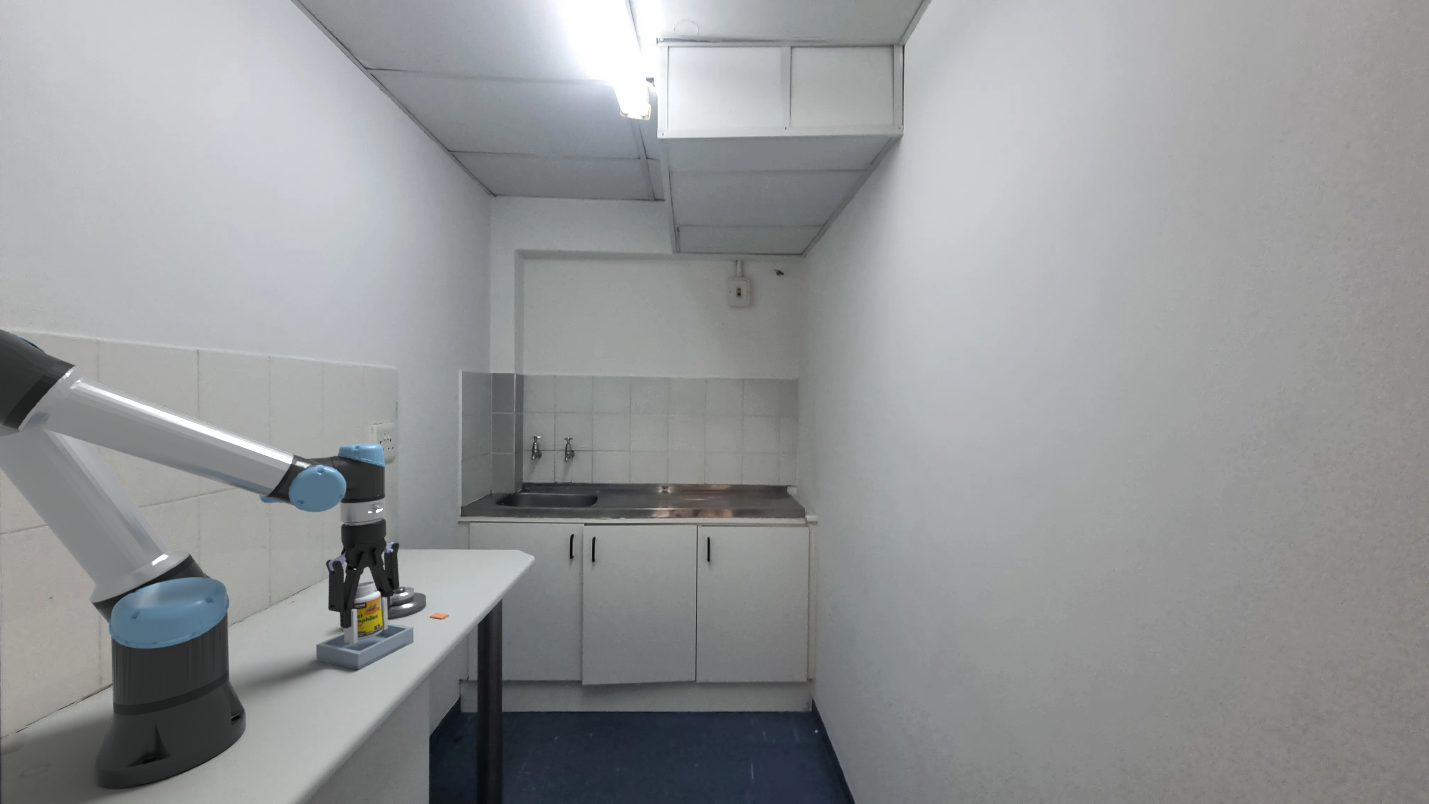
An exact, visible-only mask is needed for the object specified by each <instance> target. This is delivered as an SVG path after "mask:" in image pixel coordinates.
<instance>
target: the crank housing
mask: <svg viewBox="0 0 1429 804" xmlns="http://www.w3.org/2000/svg"><path fill="white" fill-rule="evenodd" d="M426 606H427V596H426V594H424V593H421V592H414V599H413V600H411V601H409V602H407V603H403V604H399V605H390V610H388V611H387V613H388V620H394V619H395V620H396V619H401V618H405V617H408V616H411V615H414V614H417V613H420V612H421V611H422V610H424V609H425V608H426Z"/></svg>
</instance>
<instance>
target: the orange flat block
mask: <svg viewBox="0 0 1429 804" xmlns="http://www.w3.org/2000/svg"><path fill="white" fill-rule="evenodd" d="M449 616H450V615H449V614H447V613H442V612H436V613H434V614H431V615H430V616H429V617H430V618H432V619H438V620H444V619H445V618H447V617H449Z"/></svg>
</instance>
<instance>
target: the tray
mask: <svg viewBox="0 0 1429 804" xmlns="http://www.w3.org/2000/svg"><path fill="white" fill-rule="evenodd" d="M412 643H414V627H412V626H406V625H401V624H398V623H390V622H388V629H385V630H382V631H381V632H380V633H379V634H378V635H376V636H374V637H371V638H368V639H364V640H358V642H357V643H355V644H351V643H347V642H344V632H342V633H340V634H338V635H335V636H332V637H331V638H329V639H326V640H324V641H321V642H319V643H317V644H315V647H316V649H315V651H316V652H315V653H316V656H315V657H316V661H320V662H324V663H328V664H332V665H336V666H340V667H344V668H349V669H353V670H357V671H359V670H362V669H363V668H366V667H367V666H369V665H371V664H374V663H375V662H377V661H379V660H381V659H383V658H384V657H387V656H389V655H391V654H393V653H395V652H397V651H398V650H400V649H403V648H404V647H406V646H408V645H410V644H412Z"/></svg>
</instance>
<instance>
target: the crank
mask: <svg viewBox="0 0 1429 804" xmlns="http://www.w3.org/2000/svg"><path fill="white" fill-rule="evenodd" d="M414 593H415V588H413V587H410V586H399V588H398V589H397V590H394V595H393V596H390V605H399V604H403V603H407V602H409V601H411V600H413V599H414Z"/></svg>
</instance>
